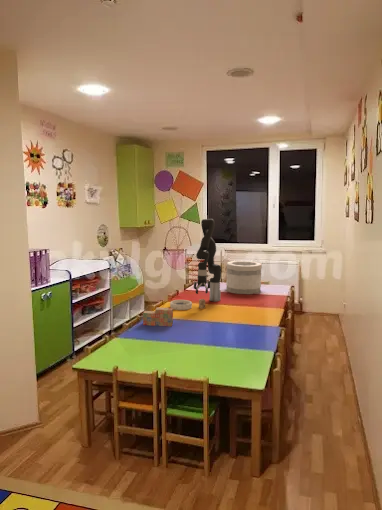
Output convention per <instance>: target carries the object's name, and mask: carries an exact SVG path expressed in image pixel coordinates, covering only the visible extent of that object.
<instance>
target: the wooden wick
mask: <svg viewBox="0 0 382 510" xmlns="http://www.w3.org/2000/svg"><path fill="white" fill-rule="evenodd" d="M198 308H199V309H206V299H203V298H202V299H198Z"/></svg>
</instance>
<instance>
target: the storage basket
mask: <svg viewBox="0 0 382 510" xmlns="http://www.w3.org/2000/svg"><path fill="white" fill-rule="evenodd" d="M262 265H263V264H262V263H260V262H258V261H251V260H233V261H228V262H226V275H225V276H226V284H225V285H226V287H225V288H226V292H229V293H232V294H237V295H253V293H255V294H258V293H260V292H261V287H262V268H263V267H262Z"/></svg>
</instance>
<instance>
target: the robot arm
mask: <svg viewBox="0 0 382 510" xmlns="http://www.w3.org/2000/svg"><path fill="white" fill-rule="evenodd" d="M200 221H201V222H200V223H201V224H200V226H201V231H202V234H203V237H202V238H201V240H200V246H199V247H198V250H197V251H196V258H197V260H203V261H200V262H198V263H197V265H198V270H197V281H194V282H193V289H194V290H195V294H196V295H199V289H200V287H201V288H202V287H205V294H208V292H209V301H211V302H220V301H221V299H222V297H221V294H222V293H221V291H222V290H221V278H222V267H221V265H220V264H216V263H215V256H216V253H217V245H216V241H215V240H214V239H213V237H212V235H213V232H214V230H215V225H216V223H215V220H214V219H213V218H206V219H203V218H202V220H200ZM208 273H209V274H211V275H213V277H211V278H210V279H209V280H207V279H208V278H207V277H208Z"/></svg>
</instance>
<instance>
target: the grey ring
mask: <svg viewBox="0 0 382 510" xmlns="http://www.w3.org/2000/svg"><path fill="white" fill-rule="evenodd" d="M169 306H170V308H173V310H176V311H187V310H190V309H192V306H193V303H192V301H191V300H187V299H174V300H171V301H170V303H169Z"/></svg>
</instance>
